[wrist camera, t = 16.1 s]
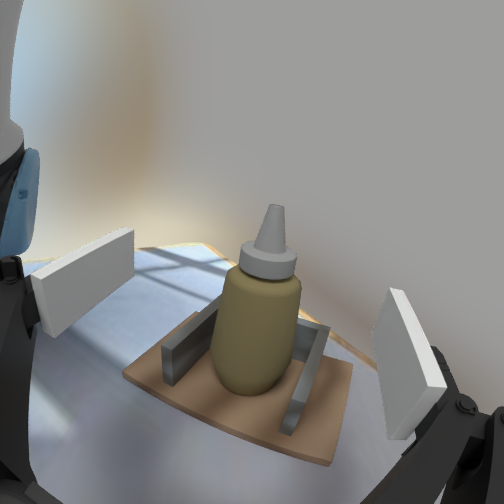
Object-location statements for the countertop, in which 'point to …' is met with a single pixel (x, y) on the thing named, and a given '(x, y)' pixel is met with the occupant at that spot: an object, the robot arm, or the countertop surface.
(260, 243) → the squeeze bottle
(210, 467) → the countertop surface
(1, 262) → the robot arm
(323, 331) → the u rest
